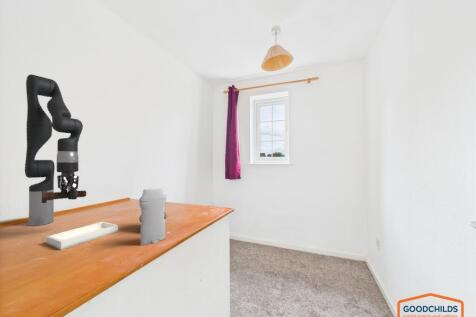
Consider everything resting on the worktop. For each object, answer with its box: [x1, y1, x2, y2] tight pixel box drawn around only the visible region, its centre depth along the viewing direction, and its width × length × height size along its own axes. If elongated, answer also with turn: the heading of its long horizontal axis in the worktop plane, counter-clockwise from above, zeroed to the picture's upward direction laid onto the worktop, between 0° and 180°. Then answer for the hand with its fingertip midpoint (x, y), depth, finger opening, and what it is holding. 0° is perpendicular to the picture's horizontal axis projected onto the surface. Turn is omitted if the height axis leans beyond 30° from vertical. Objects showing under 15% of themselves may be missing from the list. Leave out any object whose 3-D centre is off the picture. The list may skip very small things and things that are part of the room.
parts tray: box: [45, 221, 119, 251], centre depth 84 cm, size 12×21×3 cm, turn 153°
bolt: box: [42, 189, 87, 203], centre depth 89 cm, size 6×5×15 cm
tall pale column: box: [139, 186, 167, 246], centre depth 80 cm, size 11×4×22 cm, turn 134°
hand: (67, 198), depth 89 cm, fingers closed on bolt, 6 cm apart
